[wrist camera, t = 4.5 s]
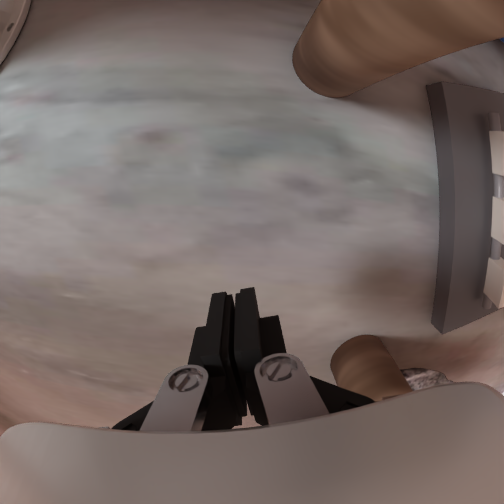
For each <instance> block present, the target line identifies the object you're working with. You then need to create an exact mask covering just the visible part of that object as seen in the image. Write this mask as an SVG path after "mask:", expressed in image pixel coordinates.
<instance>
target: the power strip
mask: <svg viewBox="0 0 504 504" xmlns="http://www.w3.org/2000/svg"><path fill="white" fill-rule="evenodd" d="M426 87H427V92H428V97H429V103H430V108H431V114H432V120H433V127H434V135H435V143H436V152H437V163H438V177H439V200H440V232H439V256H438V270H437V281H436V291H435V299H434V307H433V314H432V320H431V323H432V324H433V325H434V326H435V328H436V329H437V330H438V331H439V332H440V333H441V334H444V333H447V332H449V331H452V330H454V329H457V328H459V327H462V326H464V325H466V324H468V323H471V322H473V321H475V320H477V319H480V318H482V317H484V316H486V315H488V314H490V313H492V312H495V311H497V310H499V309H501V308H499V309H498V308H497V307H496V305H495V304H494V303H493V302H492V305H491V308H490V309H484V308H483V307H482V301H483V296H484V292H483V291H484V286H485V280H486V273H487V267H488V259H489V257H490V250H491V240H492V237H491V227H492V203H493V196H494V178H493V173H492V158H491V145H490V135H489V131H490V126H489V119H488V112H495V113H499V117H500V125H501V131H504V93H500V92H496V91H491V90H487V89H482V88H477V87H472V86H467V85H461V84H455V83H448V82H438V83H434V84H430V85H426ZM500 257H501V258H502V259H504V245H503V244H502V246H501V254H500Z"/></svg>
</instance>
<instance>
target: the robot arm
mask: <svg viewBox="0 0 504 504" xmlns="http://www.w3.org/2000/svg"><path fill="white" fill-rule="evenodd" d="M30 3H31V0H0V64H1V63H2V61H3V60H4V59H5V57H6V56H7V54H8V52H9V51H10V49H11V47H12V46H13V44H14V42H15V40H16V38H17V36H18V35H19V33H20V31H21V28H22V26H23V24H24V22H25V19H26V16H27V14H28V11H29V7H30ZM247 403H248V407H249V410H250V413H251V416H252V415H254V417H255V421H256V422H257V423H258V424H260V425H262V426H257V427H249V428H239V429H232V428H233V427H234V426H238V425H242V417H243V416H247ZM0 504H504V396H503V395H502V394H501V393H500V392H498V391H497V390H496V389H494V388H493V387H491V386H489V385H487V384H483V383H480V382H456V383H447V384H442V385H436V386H431V387H427V388H423V389H419V390H415V391H412V392H409V393H406V394H401V395H394V396H386V397H382V401H374V400H373V399H371V398H369V397H367V396H364V395H361V394H358V393H355V392H353V391H350V390H347V389H344V388H341V387H338V386H336V385H333V384H330V383H327V382H325V381H322V380H319V379H317V378H314V377H312V376H309V374H308V373H307V371H306V369H305V367H304V365H303V363H302V361H301V360H300V359H299V358H298V357H296V356H294V355H292V354H288V353H286V349H285V344H284V339H283V335H282V330H281V325H280V321H279V316H278V315H276V316H270V317H264V318H260V316H259V311H258V305H257V300H256V294H255V289H254V287H252V288H245V289H240V293H237V294H236V297H235V305H234V301H233V297H232V294H231V295H227V293H226V292H220V293H214V294H212V297H211V302H210V307H209V313H208V318H207V323H206V326H203V327H197V328H196V330H195V335H194V339H193V343H192V347H191V352H190V356H189V361H188V365H184V366H181V367H178V368H176V369H174V370H172V371H171V372H170V373H169V374H168V375H167V376H166V378H165V379H164V381H163V383H162V385H161V387H160V390H159V392H158V394H157V396H156V398H155V400H154V401H153V402H151V403H149V404H148V405H146V406H145V407H143V408H141V409H140V410H138V411H137V412H135V413H133V414H132V415H130V416H128V417H127V418H125V419H124V420H122V421H120V422H119V423H117V424H116V425H115V426H113V428H112V429H110V428H109V427H100V428H94V427H86V426H77V425H69V424H61V423H53V422H29V423H23V424H18V425H15V426H13V427H10V428H9V429H7V430H6V431H5V432H4V433H3V434H2V436H1V437H0Z"/></svg>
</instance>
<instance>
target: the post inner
mask: <svg viewBox="0 0 504 504" xmlns="http://www.w3.org/2000/svg"><path fill="white" fill-rule="evenodd" d="M503 37H504V0H321V2H320V3H319V5H318V7H317V9H316V10H315V12H314V14H313V15H312V17H311V19H310V21H309V22H308V24H307V26H306V28H305V29H304V31H303V33H302V35H301V37H300V38H299V40H298V42H297V44H296V46H295V48H294V51H293V56H292V61H293V66H294V69H295V72H296V74H297V75H298V77H299V79H300V80H301V81H302V82H303V83H304V84H305V85H306V86H307V87H308V88H309V89H311V90H312V91H314V92H316V93H318V94H320V95H323V96H326V97H332V98H339V97H345V96H348V95H350V94H353V93H355V92H357V91H359V90H361V89H363V88H365V87H368V86H370V85H372V84H374V83H376V82H379V81H381V80H383V79H386V78H388V77H390V76H393V75H395V74H397V73H400V72H402V71H405V70H407V69H410V68H412V67H415V66H417V65H420V64H422V63H425V62H428V61H430V60H433V59H436V58H438V57H441V56H444V55H447V54H450V53H453V52H456V51H459V50H462V49H465V48H468V47H471V46H475V45H478V44H481V43H485V42H488V41H492V40H496V39H499V38H503Z"/></svg>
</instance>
